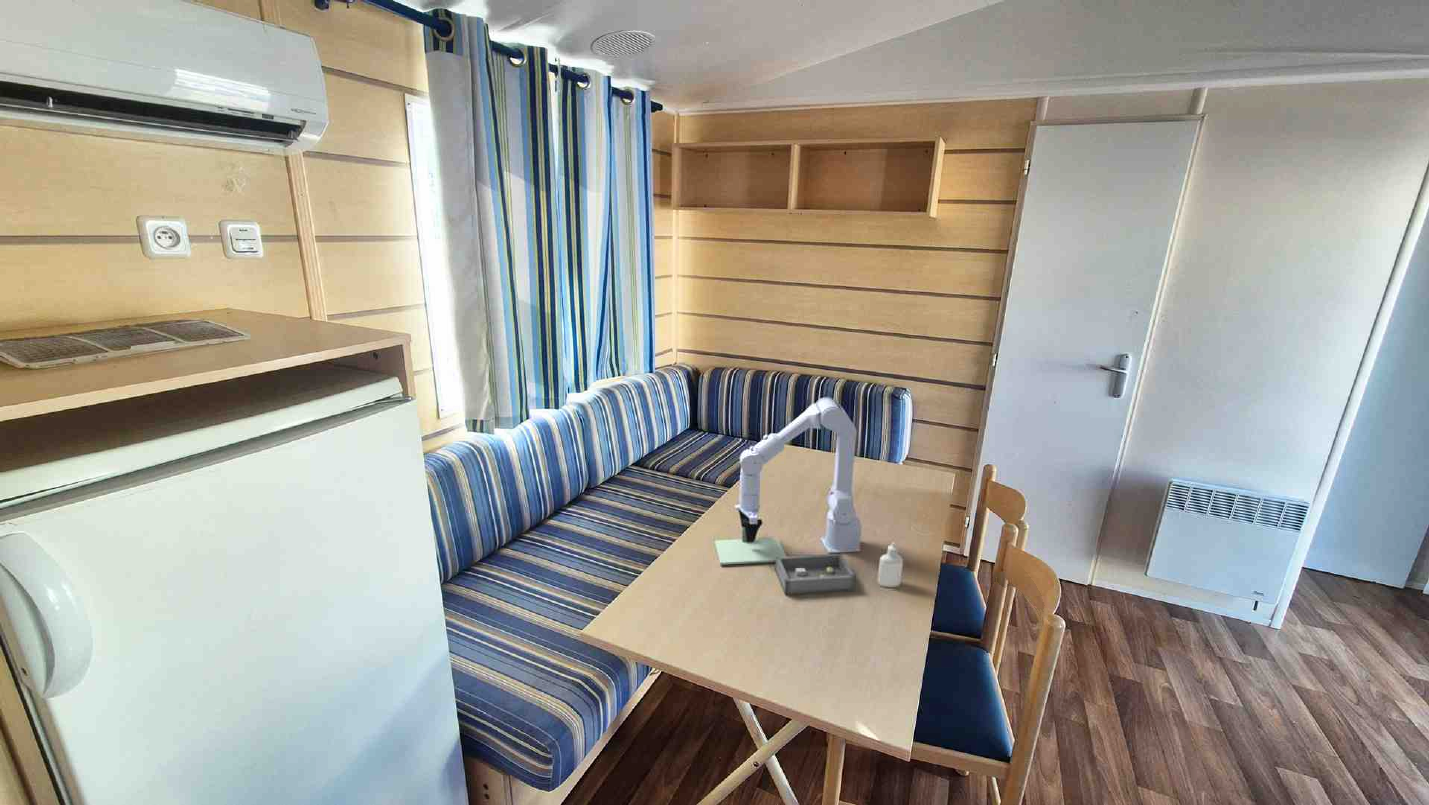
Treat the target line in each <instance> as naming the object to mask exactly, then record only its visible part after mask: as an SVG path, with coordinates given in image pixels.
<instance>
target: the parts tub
mask: <svg viewBox="0 0 1429 805" xmlns="http://www.w3.org/2000/svg"><path fill="white" fill-rule="evenodd" d="M774 564H775V566H774V570H775V571H774V572H775V573H776V577H777V579H778V581H779V583H780V586H781V589H782V591H783V594H784V595H785V596H790V595H807V594H821V593H822V594H824V593H838V592H841V593H842V592H853V591H855V585H856V575H855V573H854V572H853V571H852V569H851V567H850V566H849V564H848V563H847V561H846V559H845V558H844V557H843V554H842V553H826V554H825V553H823V554H812V555H809V554H808V555H793V556H791V555H790V556H786V557H776V562H775V563H774Z"/></svg>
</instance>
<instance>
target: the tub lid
mask: <svg viewBox="0 0 1429 805" xmlns="http://www.w3.org/2000/svg"><path fill="white" fill-rule="evenodd" d="M714 544H715V548H716V552H717V556H718V560H719V564H720V565H721V566H722V565H723V566H724V565H736V564H738V565H739V564H740V565H741V564H754V563H755V564H756V563H772V562H773V563H774V562H776V557H787V555H786V553H785V550H784V548H783V545H782V543H781V542H780V539H779V537H776V536H775V537H759V538H758V537H757V538H755V541H754V542H747V540H746V534H745V528H744V527H742V526H741V538H739V539H720V540H719V539H718V540H714Z"/></svg>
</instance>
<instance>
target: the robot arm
mask: <svg viewBox="0 0 1429 805" xmlns="http://www.w3.org/2000/svg"><path fill="white" fill-rule="evenodd" d="M821 425H822V426H823V427H824V428H825V429H827V430H830V431H833V432H834V434H836V444H835V445H836V447H835V457H834V472H833V483H832V485H831V487H830V492H829V494H828V496H827V498H826V503H827V505H828V507H829V511H828V513H827V514H826V528H825V536H823V537H822V536H821V537H820V540H821V543H822V544H823V546H824V548H825V549H826V551H827V554H840V553H854V552H861V548H860V547H861V546H860V545H861V536H862V525H861V521H860V518H859V517H858V516H856V514H857V512H856V509H855V506H854V497H853V492H852V486H853V474H854V465H855V464H854V462H855V452H856V438H857V428H856V426H855V424H854V423H853V421H852V420H851V418H850V417H849V415H848V414H847V413H846V410H844V408H843V406H841V404H840V403H838V402H837V401H836V400H834V399H833V398H831V397H827V396H826V397H822V398H819V399H818V400H817V401H816V402H814V403H812V404H810V405H809V406H808V407H807V408H806V409H805V411H804V412H802V413H801V414H799V415H798V417H796V418H795V419H794V420H793V421H792V422H790V423H789V424H788V425H787V426H785V427H784V428H783V429H781V430H780V431H779V432H778V433H776V432H775V433H773V432H772V433H770V434H769V435H768V434H765V435H764V436H763V437H762V439H761V440H760V441H759V442H758V443H756V444H755V445H754V446H753V445H751V446H749V449H748V448H747V449H744V450H743V451H742V452H741V453H740V456H739V459H738V460H739V463H740V471H739V473H740V475H739V492H738V493H739V494H738V495H739V497H738V498H739V499H738V503H736V504H735V505H734V510H736V511H738V514H739V518H740V525H741V528H742V527H744V528H745V534H746V540H747V542H754V541H755V538H756V537H757V534H758V531H759V530H760V528H761V526H762V525H763V520H762V519H761V518H759V519H758V516H759V512H760V509H761V505H760V496H761V495H760V492H761V471H762V470H763V466H764V465H765V464H767V463H768V462H770V461H771V460H772V459H773V458H775V457H776V456H778V455H779V454H780V453H782V452H783V451H784V450H785V445H786V444H787V443H788V442H790V441H791V440H793V439H795V438H796V437H797V436H799V435H800V434H802V433H804V432H805V431H807V430H808V429H817V430H821V429H822V427H821Z"/></svg>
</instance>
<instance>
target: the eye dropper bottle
mask: <svg viewBox="0 0 1429 805" xmlns="http://www.w3.org/2000/svg"><path fill="white" fill-rule="evenodd" d="M898 549H899V548H898V547H897V545H896V543H895V541H894V542H893V541H892V542H891V544H890V545H888V546H887V552H886V553H885V554H882V555H881V556H880V557H879V564H878V572H877V574H878V575H877V583H878V585H879V586H881V587H884V588H895V587H899V586H900V585H901V580H902V573H903V564H904V560H903V557H902V556H901V555H899V554H898V551H899V550H898Z"/></svg>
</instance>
